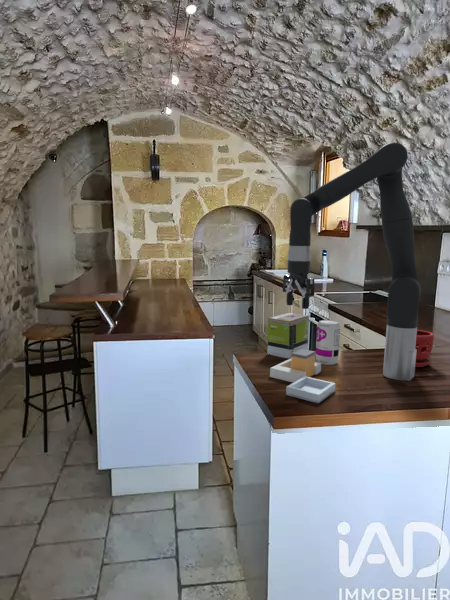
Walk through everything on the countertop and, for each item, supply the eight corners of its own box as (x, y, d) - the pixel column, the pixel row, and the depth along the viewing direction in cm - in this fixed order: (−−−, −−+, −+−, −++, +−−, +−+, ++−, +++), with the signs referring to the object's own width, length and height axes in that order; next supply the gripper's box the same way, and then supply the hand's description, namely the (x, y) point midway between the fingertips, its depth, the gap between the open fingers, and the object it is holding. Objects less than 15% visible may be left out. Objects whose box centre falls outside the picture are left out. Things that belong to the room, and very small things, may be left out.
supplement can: (321, 366, 153) (324, 324, 151) (311, 359, 161) (313, 320, 159) (342, 364, 155) (344, 323, 153) (330, 358, 163) (333, 319, 161)
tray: (335, 391, 128) (335, 383, 128) (318, 403, 119) (318, 394, 118) (304, 383, 134) (304, 376, 134) (286, 394, 125) (286, 386, 124)
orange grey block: (313, 374, 143) (315, 351, 142) (304, 380, 138) (306, 355, 137) (300, 371, 146) (301, 348, 145) (290, 376, 141) (291, 353, 140)
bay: (320, 371, 147) (321, 363, 146) (299, 384, 134) (300, 374, 133) (292, 365, 153) (292, 357, 152) (269, 376, 140) (270, 367, 140)
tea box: (286, 347, 178) (288, 311, 176) (308, 351, 172) (310, 315, 170) (266, 354, 167) (267, 316, 165) (288, 359, 161) (290, 320, 158)
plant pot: (432, 362, 161) (435, 330, 160) (428, 371, 150) (431, 337, 148) (395, 356, 168) (397, 326, 166) (389, 364, 157) (391, 332, 155)
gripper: (321, 260, 141) (319, 309, 144) (294, 258, 154) (293, 303, 156) (303, 260, 138) (301, 310, 140) (277, 258, 150) (276, 304, 152)
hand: (297, 306), depth 148 cm, fingers open, 8 cm apart
